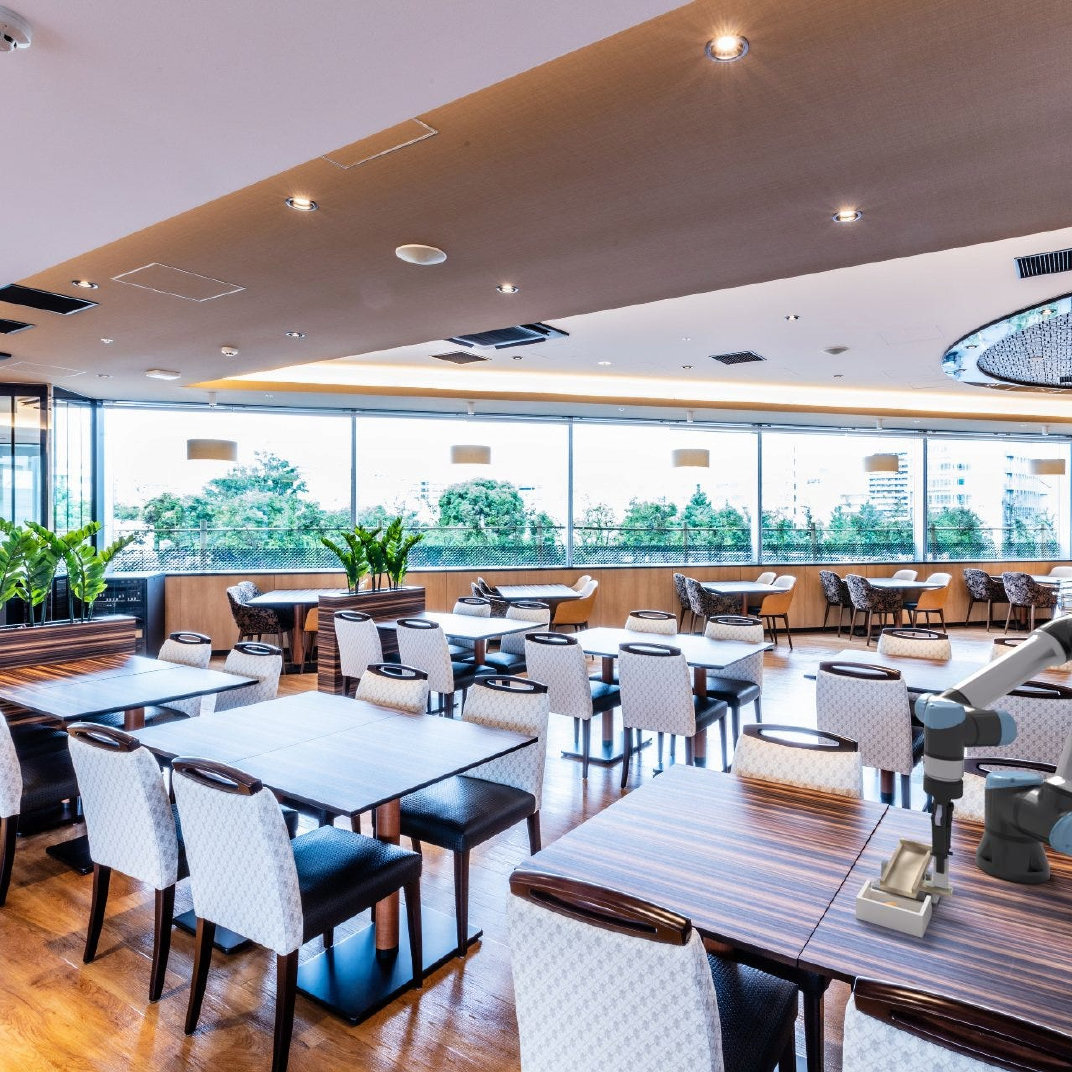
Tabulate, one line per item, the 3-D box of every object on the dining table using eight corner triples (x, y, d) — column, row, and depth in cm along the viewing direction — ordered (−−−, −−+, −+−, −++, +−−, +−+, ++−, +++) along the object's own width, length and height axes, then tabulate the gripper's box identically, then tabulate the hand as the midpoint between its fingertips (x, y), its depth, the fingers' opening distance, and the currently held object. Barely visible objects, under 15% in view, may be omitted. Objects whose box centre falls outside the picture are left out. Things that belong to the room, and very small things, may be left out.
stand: (940, 897, 169) (940, 871, 169) (936, 906, 165) (936, 879, 165) (877, 880, 177) (877, 855, 177) (872, 888, 173) (872, 863, 172)
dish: (931, 915, 161) (932, 894, 161) (922, 937, 153) (922, 916, 153) (868, 897, 169) (868, 877, 169) (855, 918, 160) (856, 897, 160)
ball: (902, 901, 159) (898, 911, 156) (902, 916, 160) (899, 926, 157) (884, 896, 161) (880, 906, 158) (884, 910, 162) (880, 921, 159)
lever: (962, 863, 175) (962, 851, 175) (947, 907, 158) (947, 894, 158) (899, 848, 183) (899, 837, 182) (879, 888, 166) (879, 876, 165)
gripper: (929, 764, 170) (926, 870, 171) (918, 780, 160) (915, 892, 160) (967, 771, 166) (965, 879, 166) (958, 788, 155) (956, 903, 156)
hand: (940, 885), depth 163 cm, fingers closed
